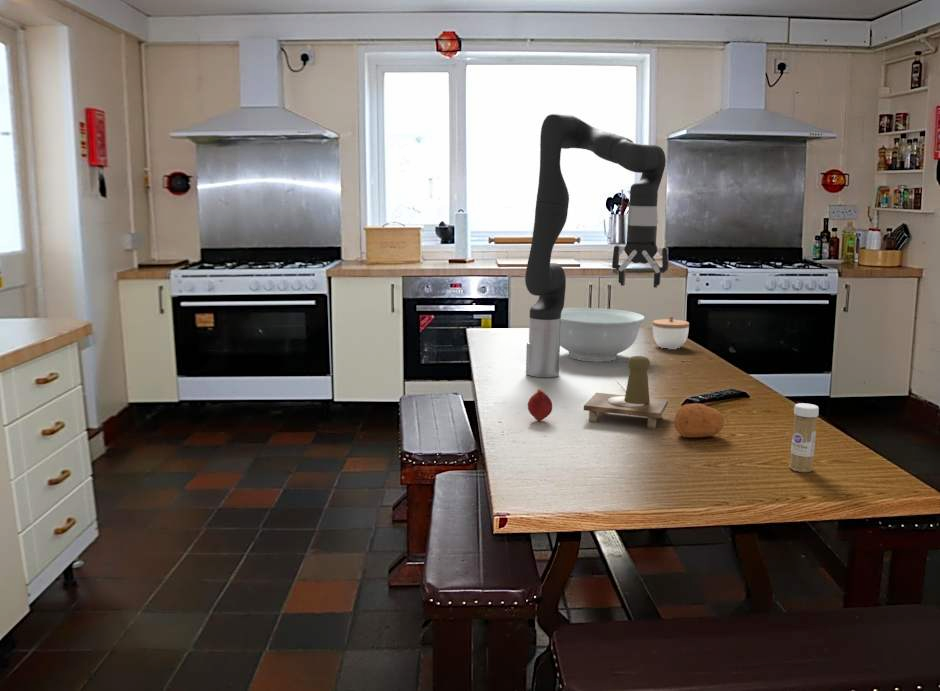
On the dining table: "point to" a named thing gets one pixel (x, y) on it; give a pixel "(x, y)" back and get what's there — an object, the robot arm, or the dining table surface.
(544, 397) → the onion
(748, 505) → the dining table surface
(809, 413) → the sprinkles bottle
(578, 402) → the dining table surface
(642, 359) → the olive pepper mill
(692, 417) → the potato
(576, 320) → the bowl
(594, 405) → the wooden stand
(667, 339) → the lidded bowl
